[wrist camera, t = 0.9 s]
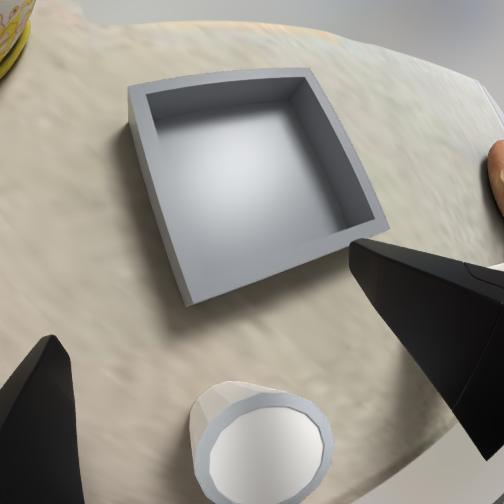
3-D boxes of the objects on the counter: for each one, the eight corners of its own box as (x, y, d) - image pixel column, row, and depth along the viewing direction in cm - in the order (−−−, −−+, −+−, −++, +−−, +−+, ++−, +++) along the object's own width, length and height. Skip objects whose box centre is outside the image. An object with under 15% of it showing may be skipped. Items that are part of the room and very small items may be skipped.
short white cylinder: (286, 453, 19) (338, 493, 13) (188, 473, 17) (208, 530, 10) (275, 363, 20) (330, 377, 14) (171, 378, 18) (181, 405, 12)
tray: (357, 242, 24) (390, 228, 21) (185, 307, 20) (193, 303, 16) (290, 96, 26) (309, 67, 22) (128, 121, 21) (127, 86, 17)
